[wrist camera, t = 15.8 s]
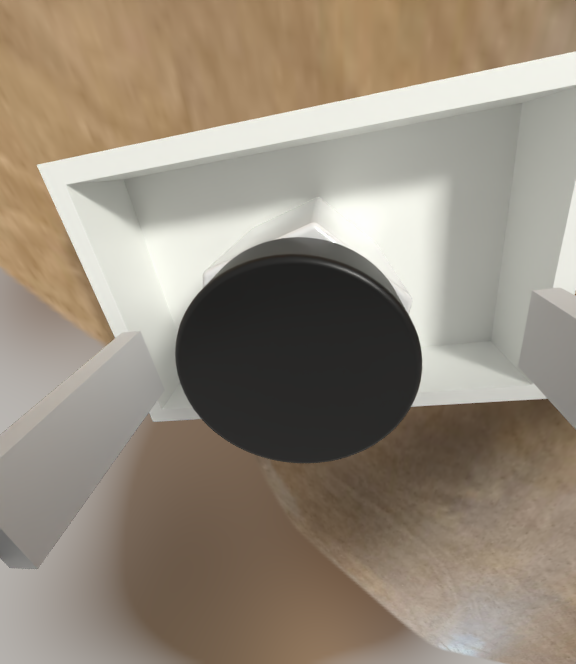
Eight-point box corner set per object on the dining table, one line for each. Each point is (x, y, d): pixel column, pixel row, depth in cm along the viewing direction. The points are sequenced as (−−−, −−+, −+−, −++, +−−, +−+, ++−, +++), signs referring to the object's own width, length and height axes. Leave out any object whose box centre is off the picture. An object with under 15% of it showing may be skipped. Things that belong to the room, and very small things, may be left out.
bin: (536, 78, 16) (637, 38, 11) (498, 344, 23) (549, 398, 18) (111, 164, 20) (36, 164, 15) (186, 371, 27) (153, 422, 22)
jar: (274, 343, 24) (235, 487, 13) (220, 240, 21) (112, 321, 10) (395, 300, 22) (464, 434, 11) (354, 176, 18) (395, 196, 8)
